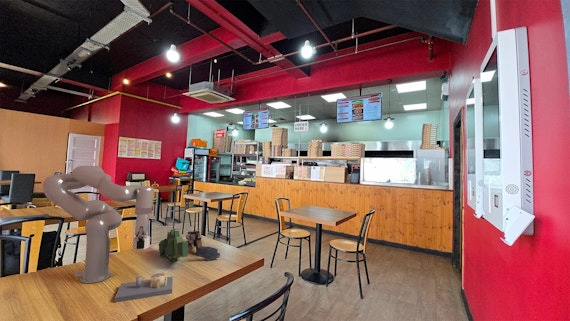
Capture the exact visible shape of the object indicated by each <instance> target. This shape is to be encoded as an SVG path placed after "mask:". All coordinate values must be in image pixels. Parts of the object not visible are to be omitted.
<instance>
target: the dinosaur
mask: <svg viewBox="0 0 570 321" xmlns="http://www.w3.org/2000/svg"><path fill="white" fill-rule="evenodd" d="M188 246H189V245H188V241H187V240H184V238H183V236H181V235H180V230H176V229H170V231H167V236H166V238H164V239H162V240H160V242H158V250H159V252H158V253H159V257H167V258H168V259H169V260H170V263H171V262H177V261H178V259H179V258H186V257H188V256H189V255H188V254H189V252H188V251H189V250H190V249H189V247H188Z"/></svg>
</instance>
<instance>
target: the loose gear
mask: <svg viewBox="0 0 570 321" xmlns="http://www.w3.org/2000/svg"><path fill="white" fill-rule="evenodd" d="M137 239H138V235H136V236H135V237H133V240H132V249H134V250H135V251H138V250H141V249H137ZM144 240H145V242H144V248H143V249H142V250H147V249H148V248H151V247H150V246H151V236H150V235H147V234H146V235H145V236H144Z"/></svg>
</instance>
